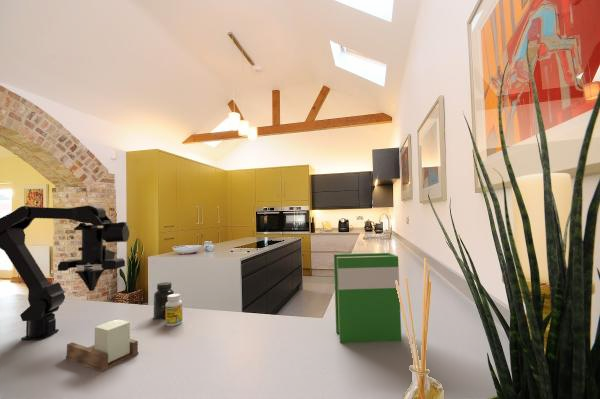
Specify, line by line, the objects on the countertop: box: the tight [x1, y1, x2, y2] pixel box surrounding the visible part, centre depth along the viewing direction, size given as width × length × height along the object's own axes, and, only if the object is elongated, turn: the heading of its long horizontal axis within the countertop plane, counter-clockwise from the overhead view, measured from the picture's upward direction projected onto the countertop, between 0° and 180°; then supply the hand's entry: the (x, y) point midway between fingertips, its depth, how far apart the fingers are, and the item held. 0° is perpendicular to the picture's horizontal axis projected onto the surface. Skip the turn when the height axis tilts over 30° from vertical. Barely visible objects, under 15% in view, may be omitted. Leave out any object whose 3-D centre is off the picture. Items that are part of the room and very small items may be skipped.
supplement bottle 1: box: [153, 281, 175, 320], centre depth 103 cm, size 7×7×12 cm
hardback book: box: [333, 252, 402, 344], centre depth 83 cm, size 18×7×24 cm, turn 91°
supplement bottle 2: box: [165, 293, 183, 327], centre depth 96 cm, size 5×5×10 cm
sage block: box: [93, 318, 131, 363], centre depth 73 cm, size 6×6×8 cm
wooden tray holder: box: [65, 338, 139, 373], centre depth 74 cm, size 16×9×4 cm, turn 65°
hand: (91, 290), depth 92 cm, fingers closed
